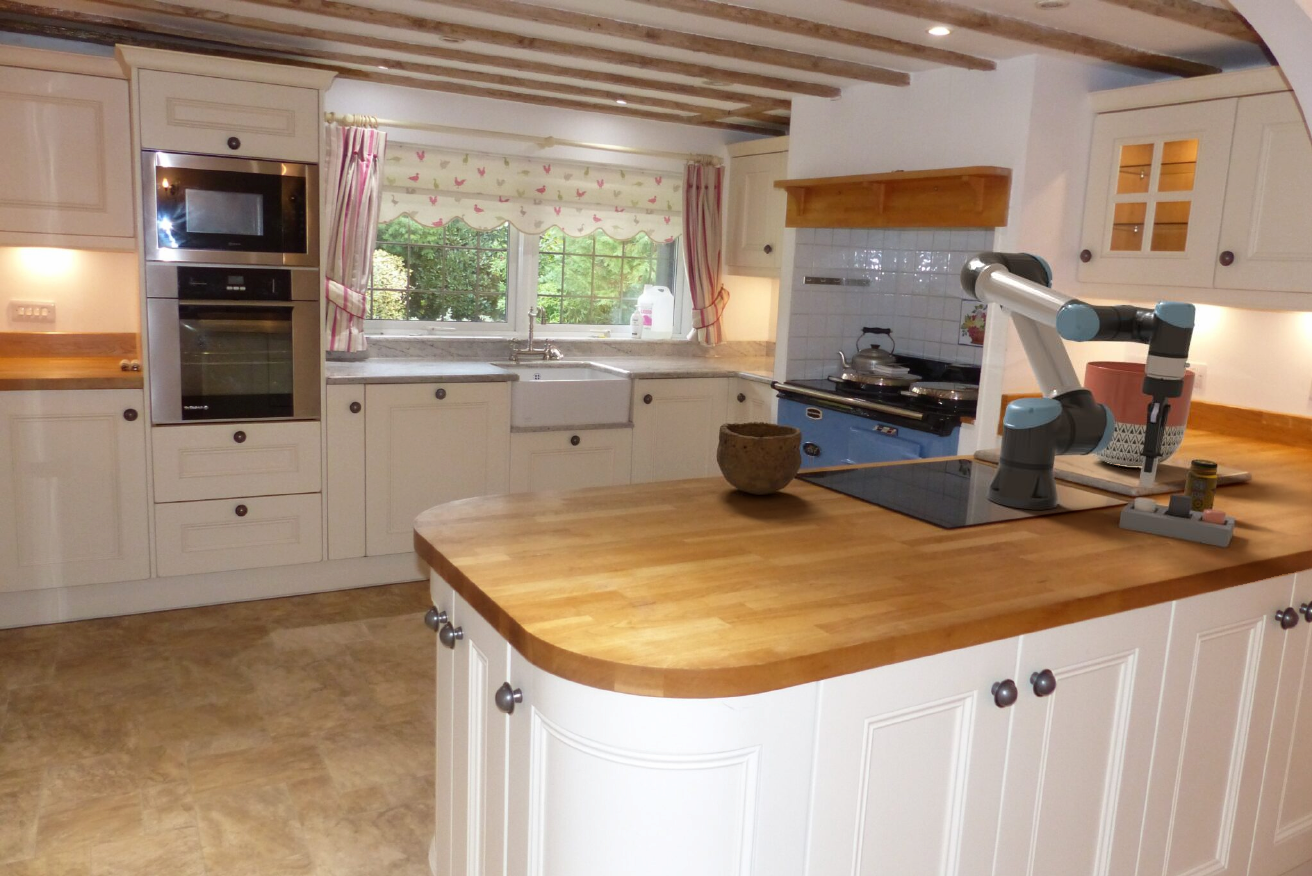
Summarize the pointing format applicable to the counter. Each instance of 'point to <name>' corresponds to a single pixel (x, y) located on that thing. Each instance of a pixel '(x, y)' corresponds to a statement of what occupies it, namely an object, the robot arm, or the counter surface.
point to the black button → (1179, 505)
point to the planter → (1134, 410)
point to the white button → (1145, 504)
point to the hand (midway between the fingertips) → (1146, 486)
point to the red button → (1214, 516)
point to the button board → (1177, 525)
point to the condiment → (1201, 484)
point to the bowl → (759, 455)
